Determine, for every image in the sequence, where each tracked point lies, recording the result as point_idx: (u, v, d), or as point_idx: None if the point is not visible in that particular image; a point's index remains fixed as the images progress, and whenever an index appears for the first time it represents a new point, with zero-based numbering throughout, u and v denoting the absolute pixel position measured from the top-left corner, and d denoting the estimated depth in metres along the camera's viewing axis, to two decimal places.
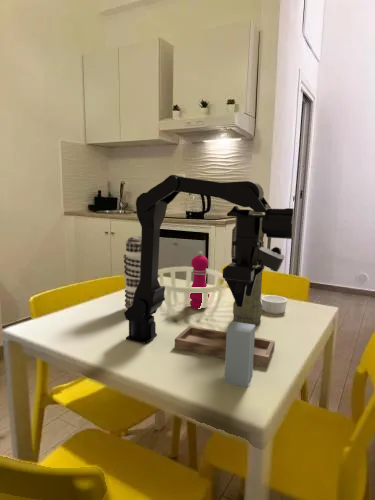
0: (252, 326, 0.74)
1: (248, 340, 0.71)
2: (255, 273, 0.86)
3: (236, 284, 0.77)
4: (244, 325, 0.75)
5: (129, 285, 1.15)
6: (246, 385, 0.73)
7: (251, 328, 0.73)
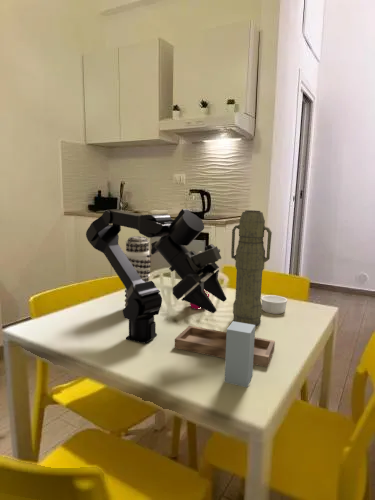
0: (252, 326, 0.74)
1: (248, 340, 0.71)
2: (214, 278, 0.87)
3: (195, 296, 0.78)
4: (244, 325, 0.75)
5: None
6: (246, 385, 0.73)
7: (251, 328, 0.73)
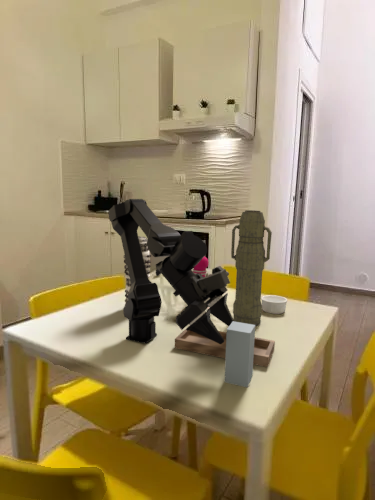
0: (252, 326, 0.74)
1: (248, 340, 0.71)
2: (222, 303, 0.80)
3: (201, 326, 0.71)
4: (244, 325, 0.75)
5: (129, 285, 1.15)
6: (246, 385, 0.73)
7: (251, 328, 0.73)
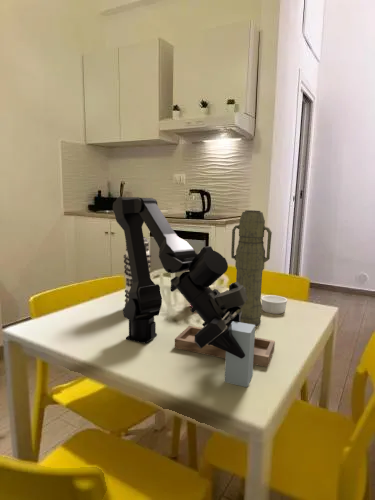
0: (252, 326, 0.74)
1: (248, 340, 0.71)
2: None
3: (222, 340, 0.72)
4: (244, 325, 0.75)
5: (129, 285, 1.15)
6: (246, 385, 0.72)
7: (251, 328, 0.73)
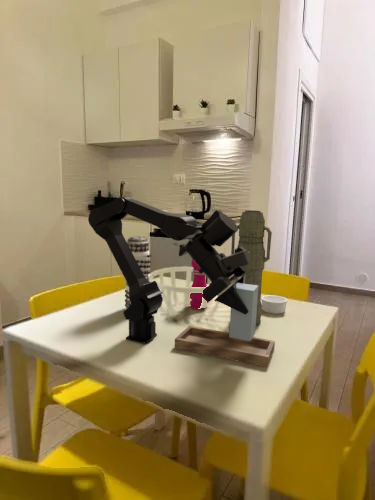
0: (255, 286, 0.81)
1: (251, 297, 0.78)
2: None
3: (228, 297, 0.78)
4: (248, 285, 0.81)
5: None
6: (249, 339, 0.79)
7: (254, 287, 0.80)
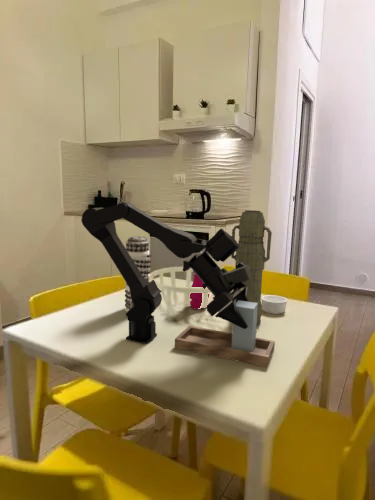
0: (255, 304, 0.87)
1: (252, 315, 0.83)
2: (243, 294, 0.91)
3: (228, 313, 0.82)
4: (248, 303, 0.87)
5: None
6: None
7: (254, 305, 0.86)
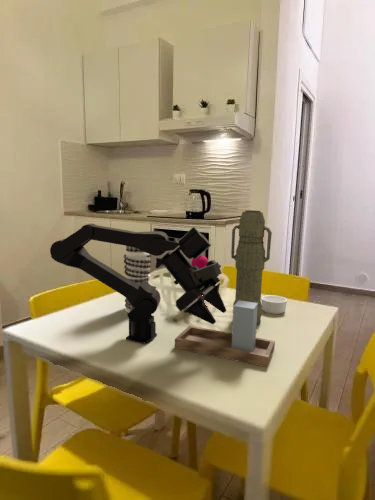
0: (255, 304, 0.87)
1: (252, 315, 0.83)
2: (215, 291, 0.94)
3: (196, 309, 0.85)
4: (248, 303, 0.87)
5: None
6: None
7: (254, 305, 0.86)
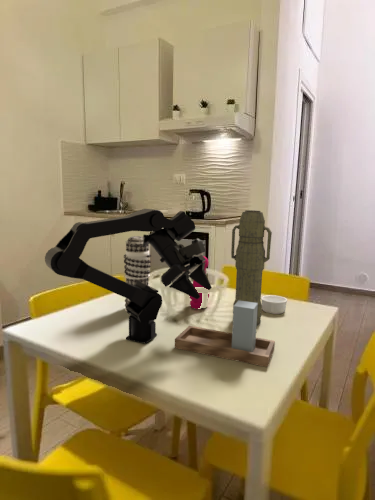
0: (255, 304, 0.87)
1: (252, 315, 0.83)
2: (200, 269, 0.97)
3: (181, 284, 0.88)
4: (248, 303, 0.87)
5: None
6: None
7: (254, 305, 0.86)
